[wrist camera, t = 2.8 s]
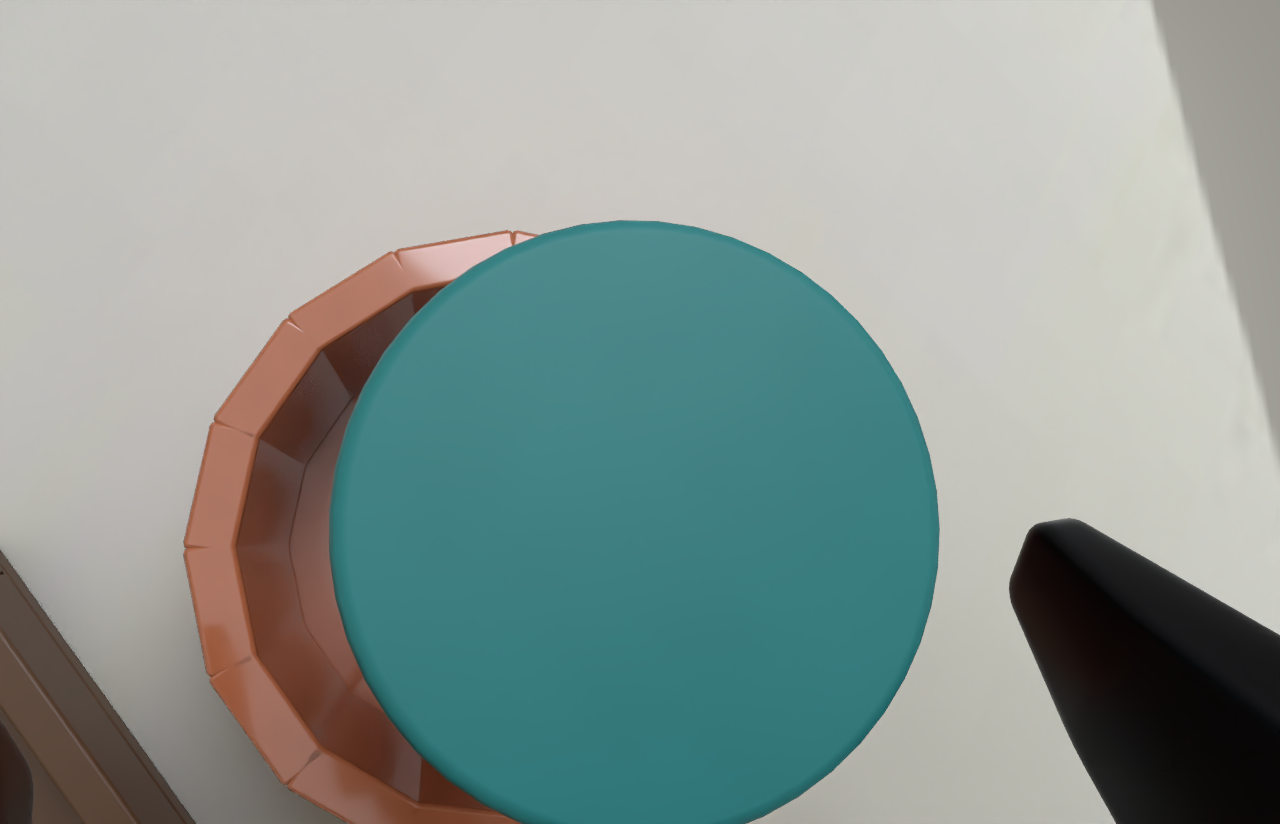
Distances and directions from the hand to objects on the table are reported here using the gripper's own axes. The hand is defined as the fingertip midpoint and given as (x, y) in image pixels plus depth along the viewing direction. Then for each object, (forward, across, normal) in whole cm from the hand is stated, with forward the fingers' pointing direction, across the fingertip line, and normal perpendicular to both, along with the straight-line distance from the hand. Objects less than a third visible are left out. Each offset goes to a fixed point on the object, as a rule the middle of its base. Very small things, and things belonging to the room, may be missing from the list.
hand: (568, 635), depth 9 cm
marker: (+6, 0, +5) cm, 8 cm away
